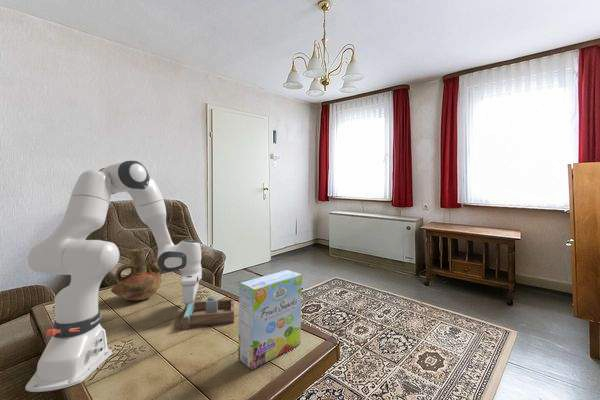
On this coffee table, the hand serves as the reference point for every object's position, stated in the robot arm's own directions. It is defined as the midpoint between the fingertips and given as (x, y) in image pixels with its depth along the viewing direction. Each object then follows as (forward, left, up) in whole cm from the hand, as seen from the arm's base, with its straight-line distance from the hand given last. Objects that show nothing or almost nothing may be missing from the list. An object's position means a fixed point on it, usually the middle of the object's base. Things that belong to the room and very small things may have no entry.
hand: (191, 305), depth 129 cm
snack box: (-40, -31, -3) cm, 51 cm away
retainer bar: (-9, 0, -1) cm, 9 cm away
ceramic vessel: (+20, +27, -3) cm, 33 cm away
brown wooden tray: (-3, -8, -2) cm, 9 cm away
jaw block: (-9, -9, -2) cm, 13 cm away
